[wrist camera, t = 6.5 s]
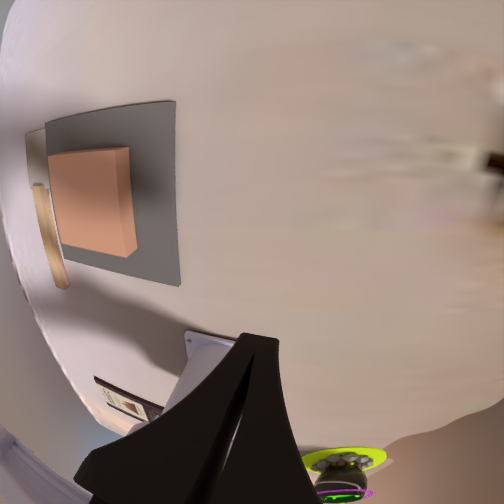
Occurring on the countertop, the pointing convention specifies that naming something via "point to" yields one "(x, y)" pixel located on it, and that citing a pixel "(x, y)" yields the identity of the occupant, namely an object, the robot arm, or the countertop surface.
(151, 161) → the mat
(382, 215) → the countertop surface
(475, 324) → the countertop surface
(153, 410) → the chocolate bar
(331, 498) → the toy cauldron
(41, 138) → the turner
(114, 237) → the tile
